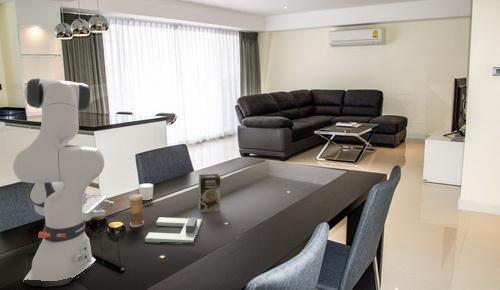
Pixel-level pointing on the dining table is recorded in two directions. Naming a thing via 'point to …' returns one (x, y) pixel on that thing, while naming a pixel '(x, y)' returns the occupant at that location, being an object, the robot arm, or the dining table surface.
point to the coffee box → (209, 193)
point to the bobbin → (136, 210)
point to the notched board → (186, 234)
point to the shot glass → (146, 191)
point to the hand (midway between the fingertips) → (109, 208)
